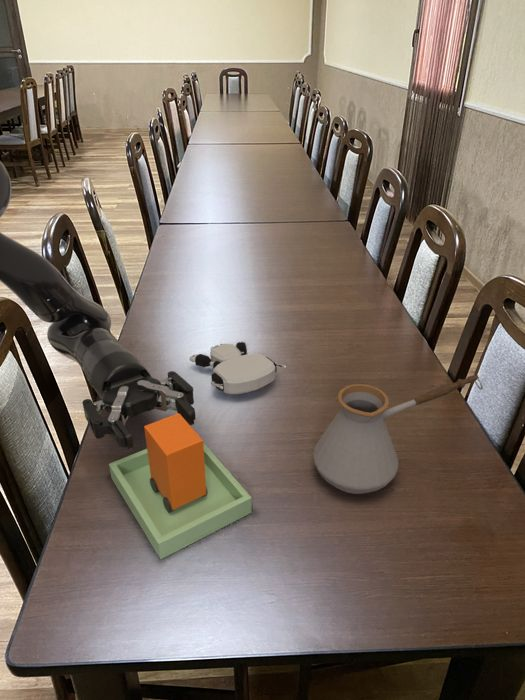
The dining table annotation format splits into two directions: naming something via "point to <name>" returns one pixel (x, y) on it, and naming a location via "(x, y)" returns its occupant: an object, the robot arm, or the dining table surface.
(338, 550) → the dining table surface
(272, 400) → the dining table surface
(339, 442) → the coffee pot
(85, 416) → the robot arm
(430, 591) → the dining table surface
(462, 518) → the dining table surface
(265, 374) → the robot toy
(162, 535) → the green square tray
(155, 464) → the toy van
